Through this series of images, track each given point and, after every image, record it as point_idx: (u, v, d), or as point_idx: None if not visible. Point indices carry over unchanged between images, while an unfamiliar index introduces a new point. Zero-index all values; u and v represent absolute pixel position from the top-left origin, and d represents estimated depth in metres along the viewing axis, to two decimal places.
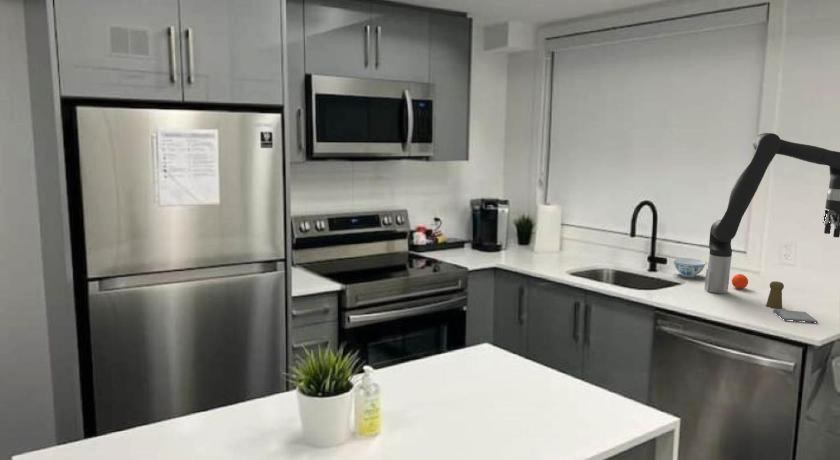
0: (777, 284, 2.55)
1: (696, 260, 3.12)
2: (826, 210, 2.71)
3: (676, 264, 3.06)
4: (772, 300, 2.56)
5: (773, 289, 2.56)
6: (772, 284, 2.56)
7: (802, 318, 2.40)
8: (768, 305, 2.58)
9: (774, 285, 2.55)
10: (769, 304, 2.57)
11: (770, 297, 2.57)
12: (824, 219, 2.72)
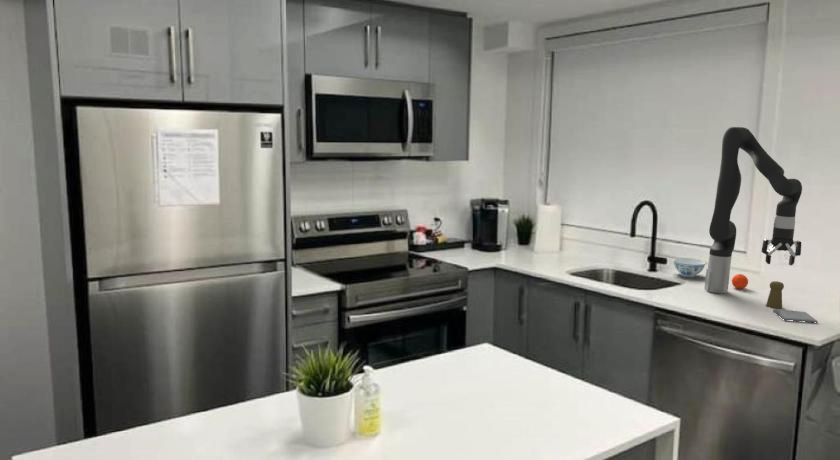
0: (777, 284, 2.55)
1: (696, 260, 3.12)
2: (767, 240, 2.54)
3: (676, 264, 3.06)
4: (772, 300, 2.56)
5: (773, 289, 2.56)
6: (772, 284, 2.56)
7: (802, 318, 2.40)
8: (768, 305, 2.58)
9: (774, 285, 2.55)
10: (769, 304, 2.57)
11: (770, 297, 2.57)
12: (766, 249, 2.54)
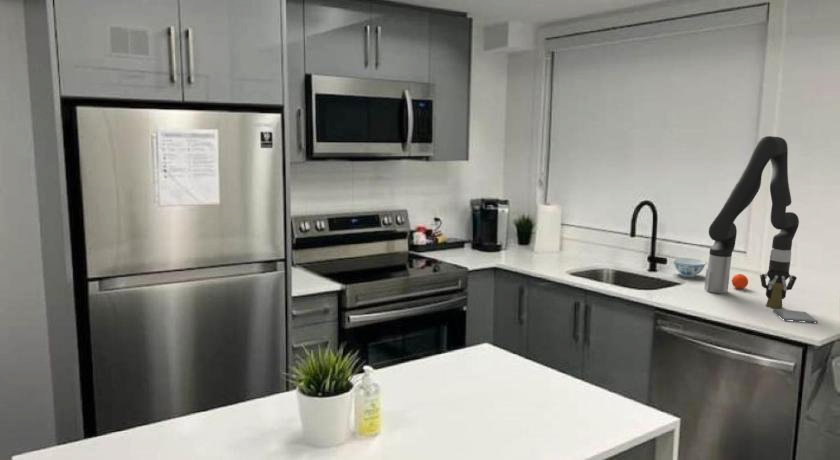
0: (777, 284, 2.55)
1: (696, 260, 3.12)
2: (763, 274, 2.56)
3: (676, 264, 3.06)
4: (772, 300, 2.56)
5: (773, 289, 2.56)
6: None
7: (802, 318, 2.40)
8: (768, 305, 2.58)
9: (774, 285, 2.55)
10: (769, 304, 2.57)
11: (770, 297, 2.57)
12: None
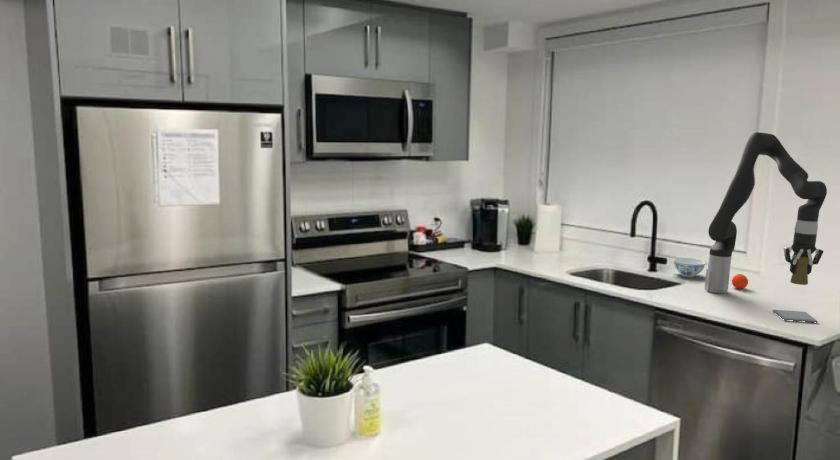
0: (802, 258, 2.38)
1: (696, 260, 3.12)
2: (787, 248, 2.40)
3: (676, 264, 3.06)
4: (797, 275, 2.40)
5: (797, 264, 2.40)
6: None
7: (802, 318, 2.40)
8: (793, 281, 2.41)
9: (799, 259, 2.38)
10: (794, 280, 2.41)
11: (795, 272, 2.40)
12: (790, 258, 2.40)
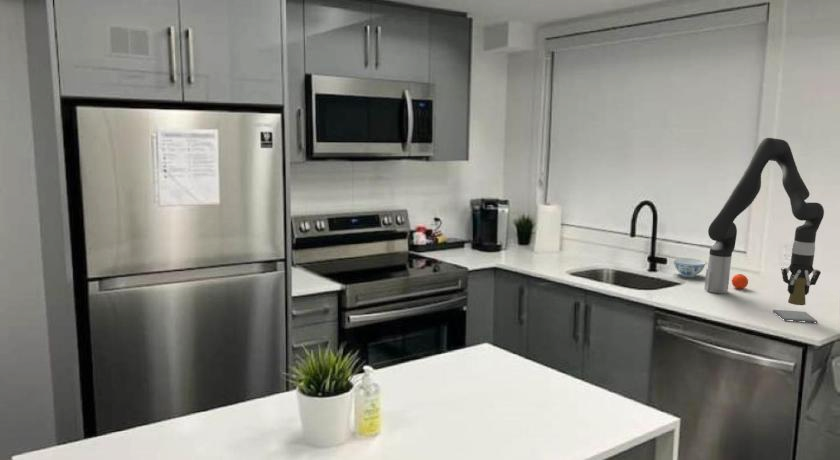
0: (800, 279, 2.39)
1: (696, 260, 3.12)
2: (785, 269, 2.41)
3: (676, 264, 3.06)
4: (795, 296, 2.41)
5: (795, 284, 2.41)
6: None
7: (802, 318, 2.40)
8: (790, 301, 2.42)
9: (797, 279, 2.40)
10: (791, 300, 2.42)
11: None
12: None
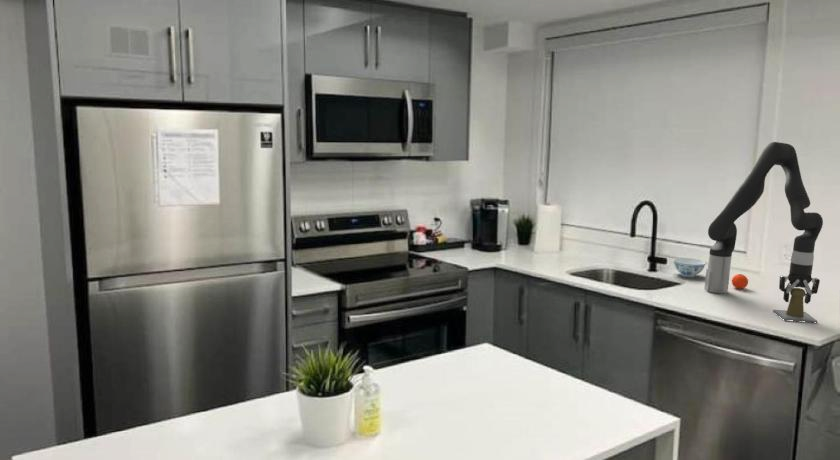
0: (798, 291, 2.40)
1: (696, 260, 3.12)
2: (784, 277, 2.42)
3: (676, 264, 3.06)
4: (793, 308, 2.42)
5: (793, 296, 2.42)
6: (793, 291, 2.42)
7: (802, 318, 2.40)
8: (789, 313, 2.43)
9: (795, 291, 2.41)
10: (790, 312, 2.43)
11: (791, 305, 2.43)
12: (784, 287, 2.42)
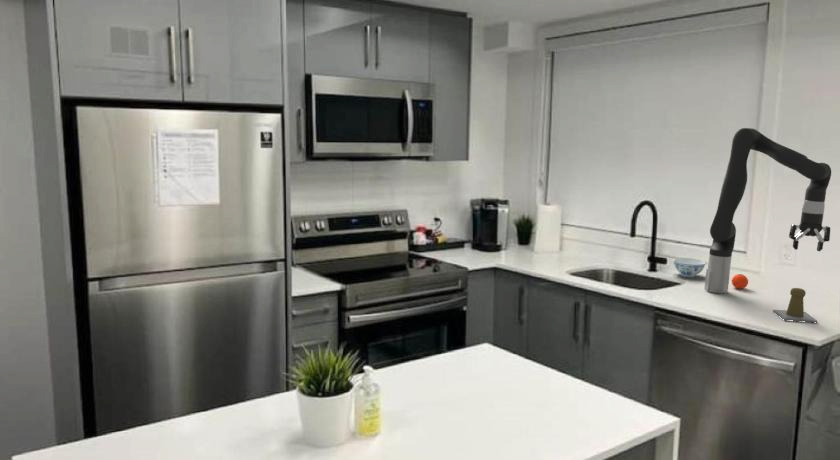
0: (798, 291, 2.40)
1: (696, 260, 3.12)
2: (795, 225, 2.50)
3: (676, 264, 3.06)
4: (793, 308, 2.42)
5: (793, 296, 2.42)
6: (793, 291, 2.42)
7: (802, 318, 2.40)
8: (789, 313, 2.43)
9: (795, 292, 2.41)
10: (790, 312, 2.43)
11: (791, 305, 2.43)
12: None
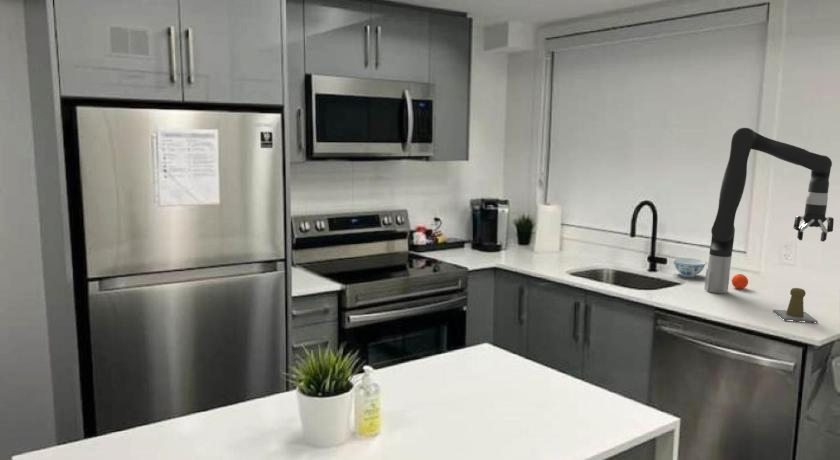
0: (798, 291, 2.40)
1: (696, 260, 3.12)
2: (800, 216, 2.57)
3: (676, 264, 3.06)
4: (793, 308, 2.42)
5: (793, 296, 2.42)
6: (793, 291, 2.42)
7: (802, 318, 2.40)
8: (789, 313, 2.43)
9: (795, 292, 2.41)
10: (790, 312, 2.43)
11: (791, 305, 2.43)
12: None
